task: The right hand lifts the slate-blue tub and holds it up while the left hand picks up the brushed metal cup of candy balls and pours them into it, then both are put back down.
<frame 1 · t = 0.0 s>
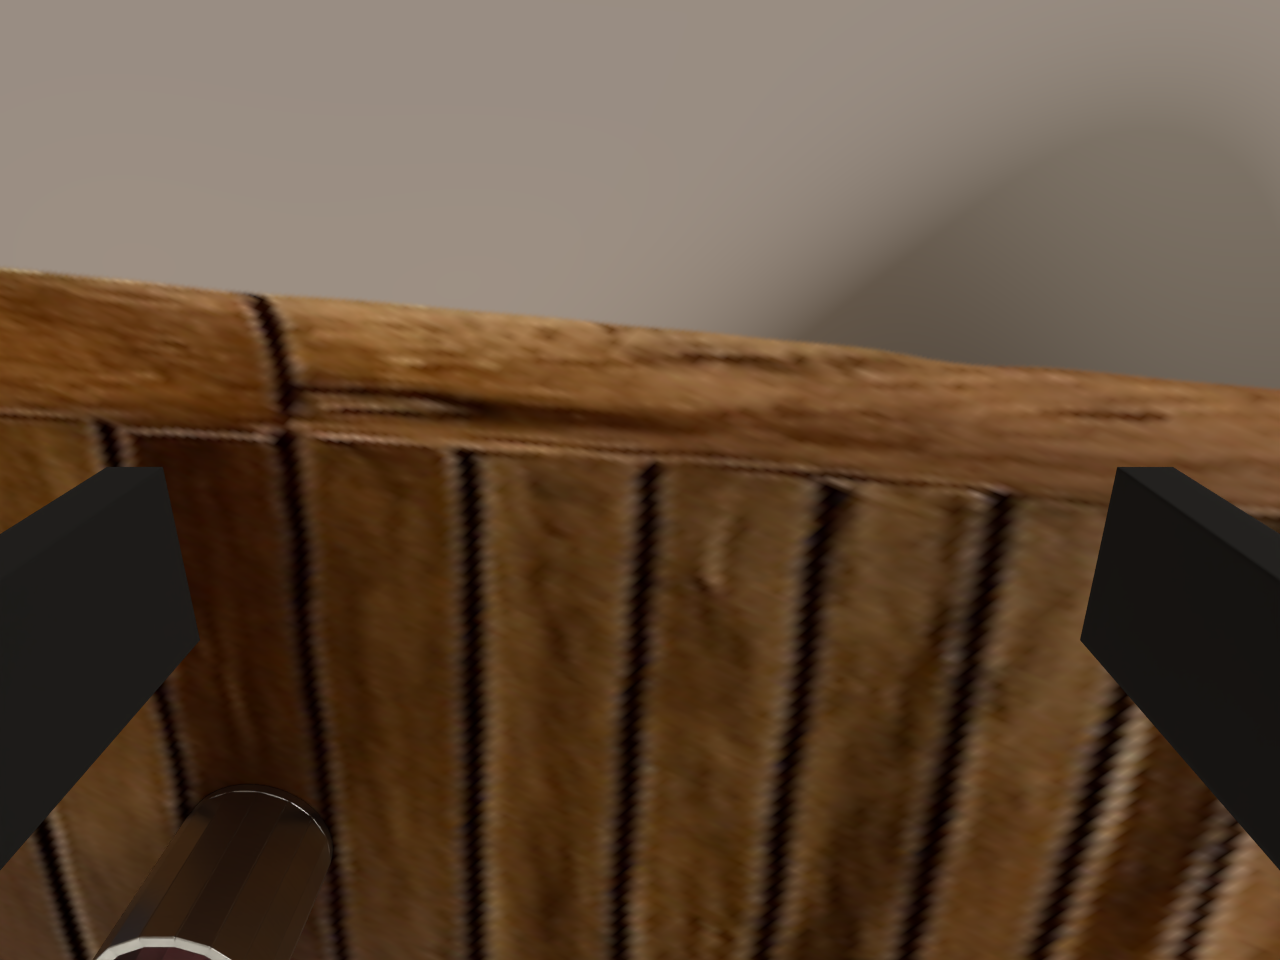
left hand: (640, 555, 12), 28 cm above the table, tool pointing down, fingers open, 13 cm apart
cup: (260, 841, 50), on the table, 125 candy balls inside
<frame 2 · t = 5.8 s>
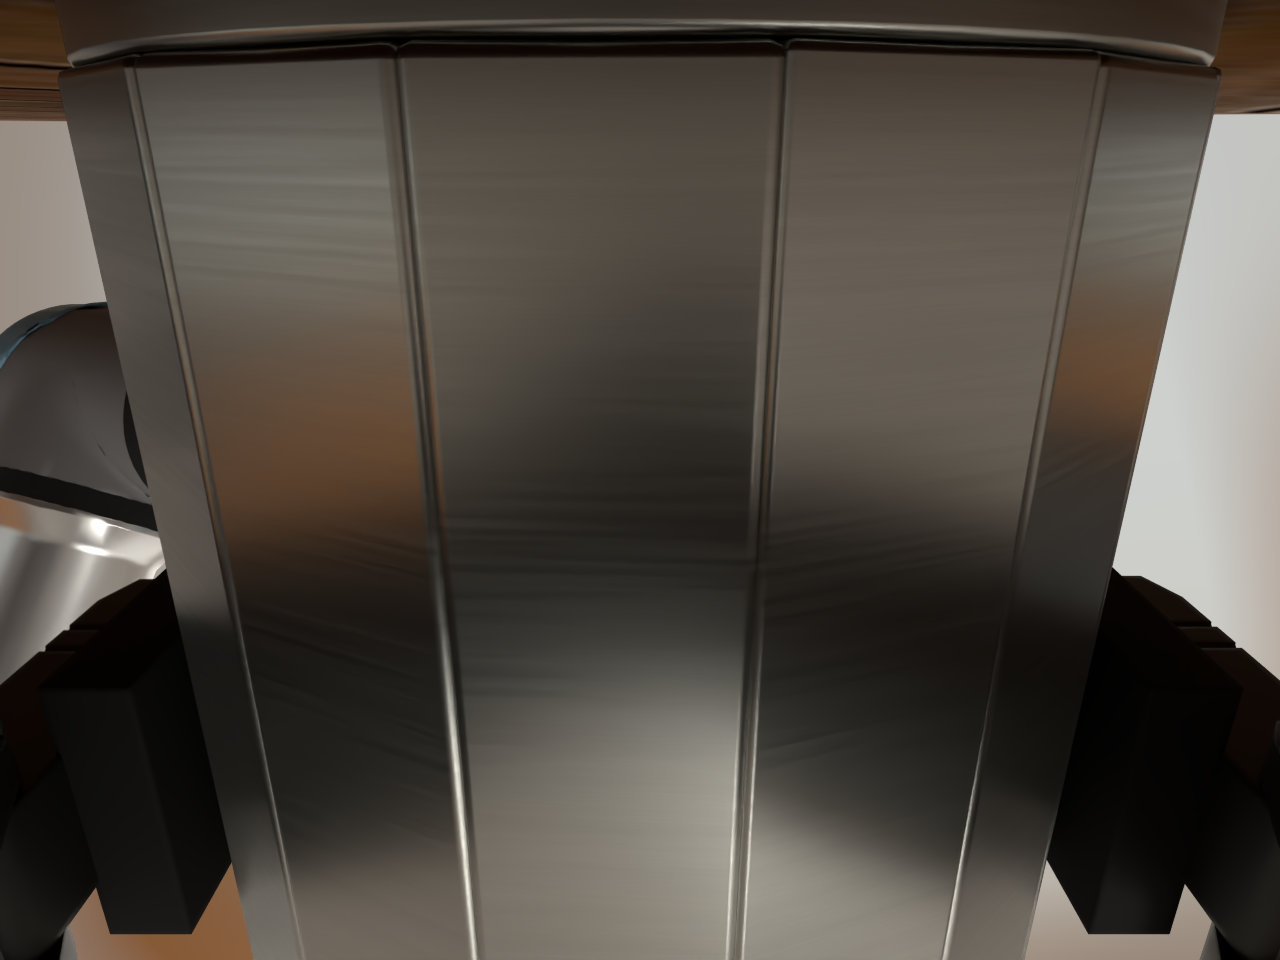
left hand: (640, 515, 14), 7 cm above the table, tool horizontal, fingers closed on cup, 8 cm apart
cup: (640, 5, 7), on the table, 125 candy balls inside, touching left hand
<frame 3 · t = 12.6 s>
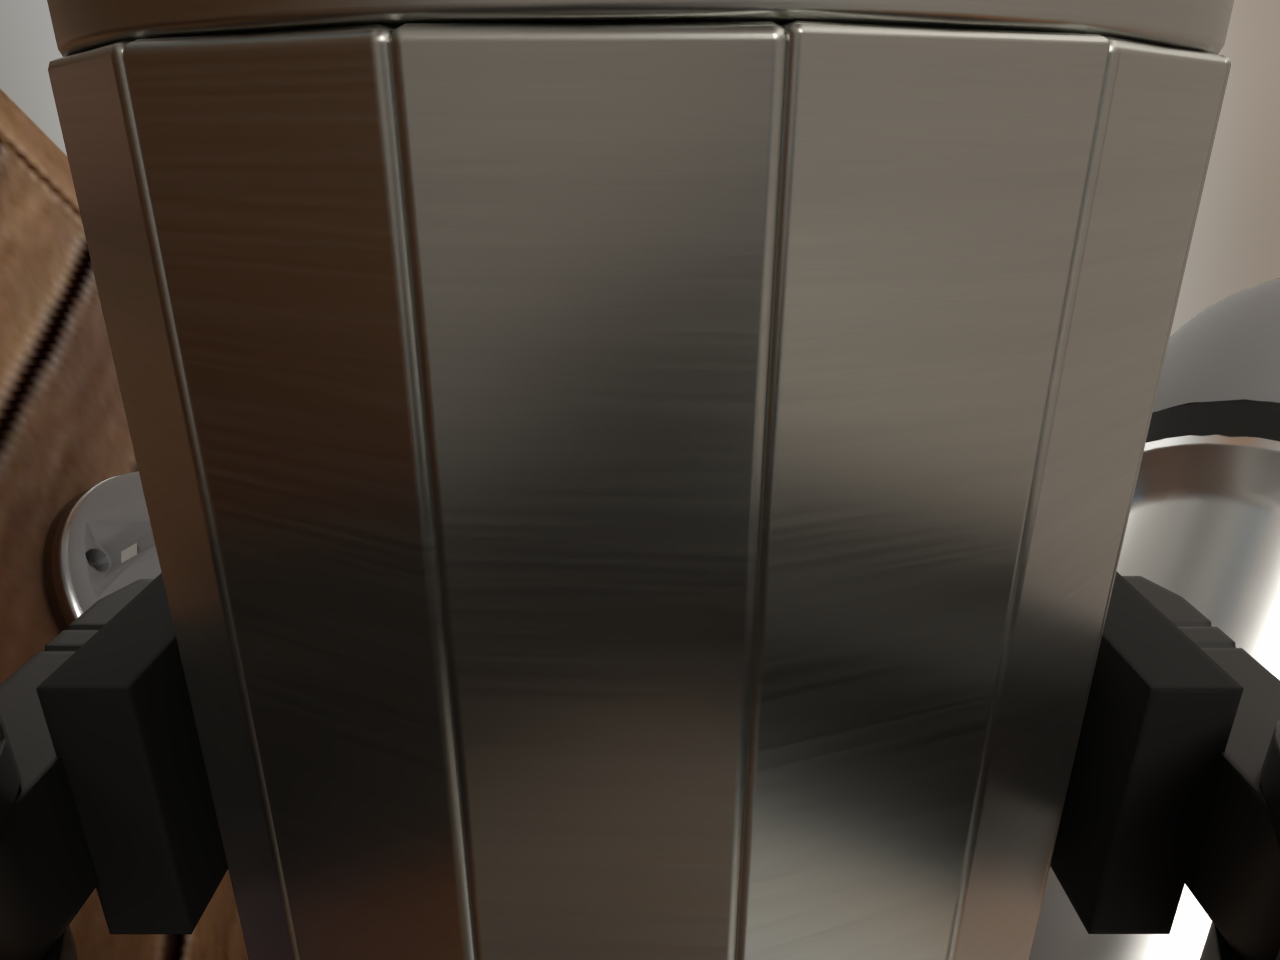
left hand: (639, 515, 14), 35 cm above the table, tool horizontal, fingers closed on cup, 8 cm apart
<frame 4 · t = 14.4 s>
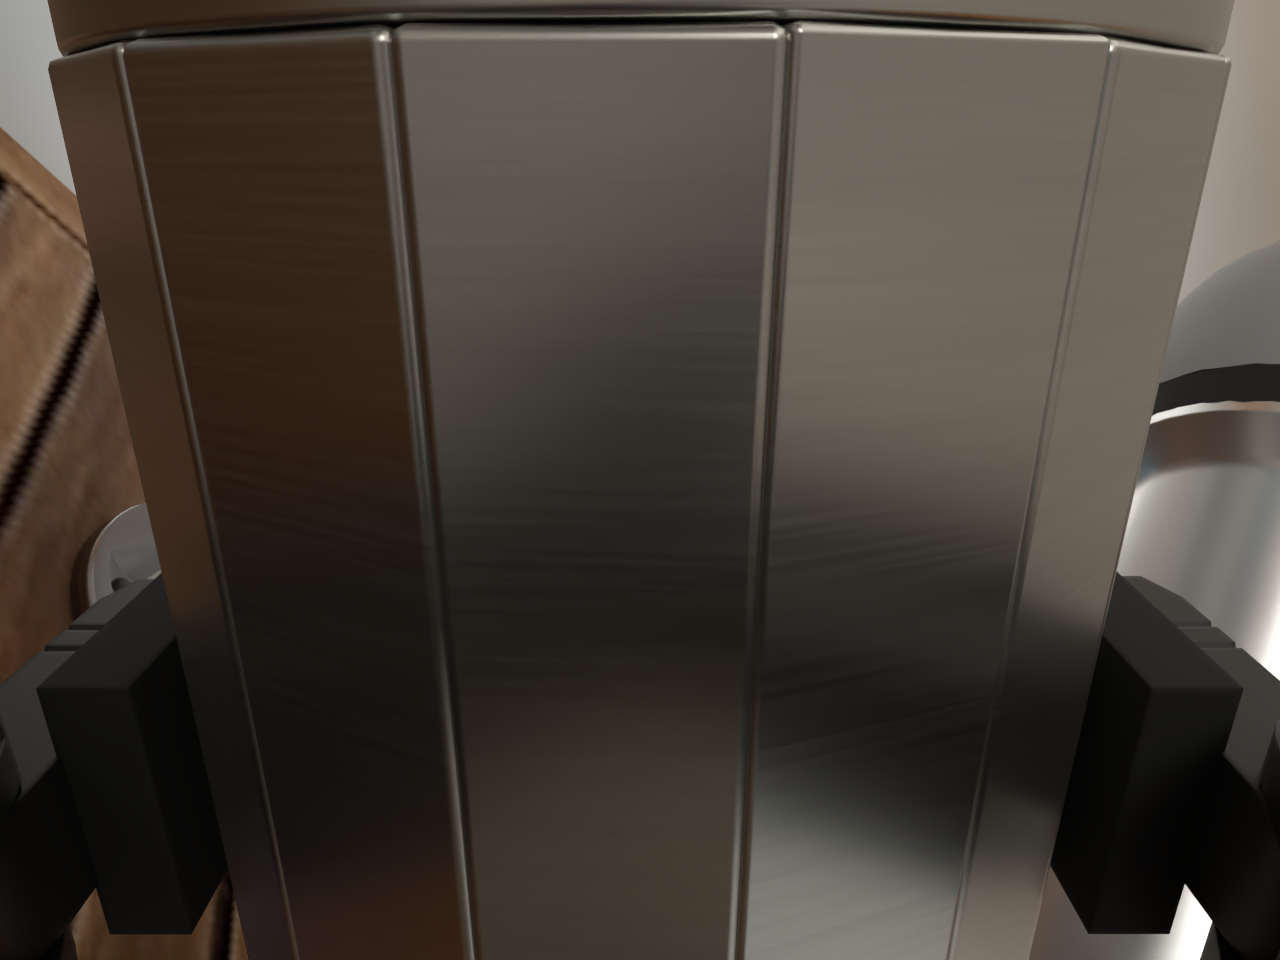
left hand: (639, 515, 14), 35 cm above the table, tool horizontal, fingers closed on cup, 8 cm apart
when the right hand's fingers open (7 cm above the table, at t = 18.8 s): tub stays where it is, on the table.
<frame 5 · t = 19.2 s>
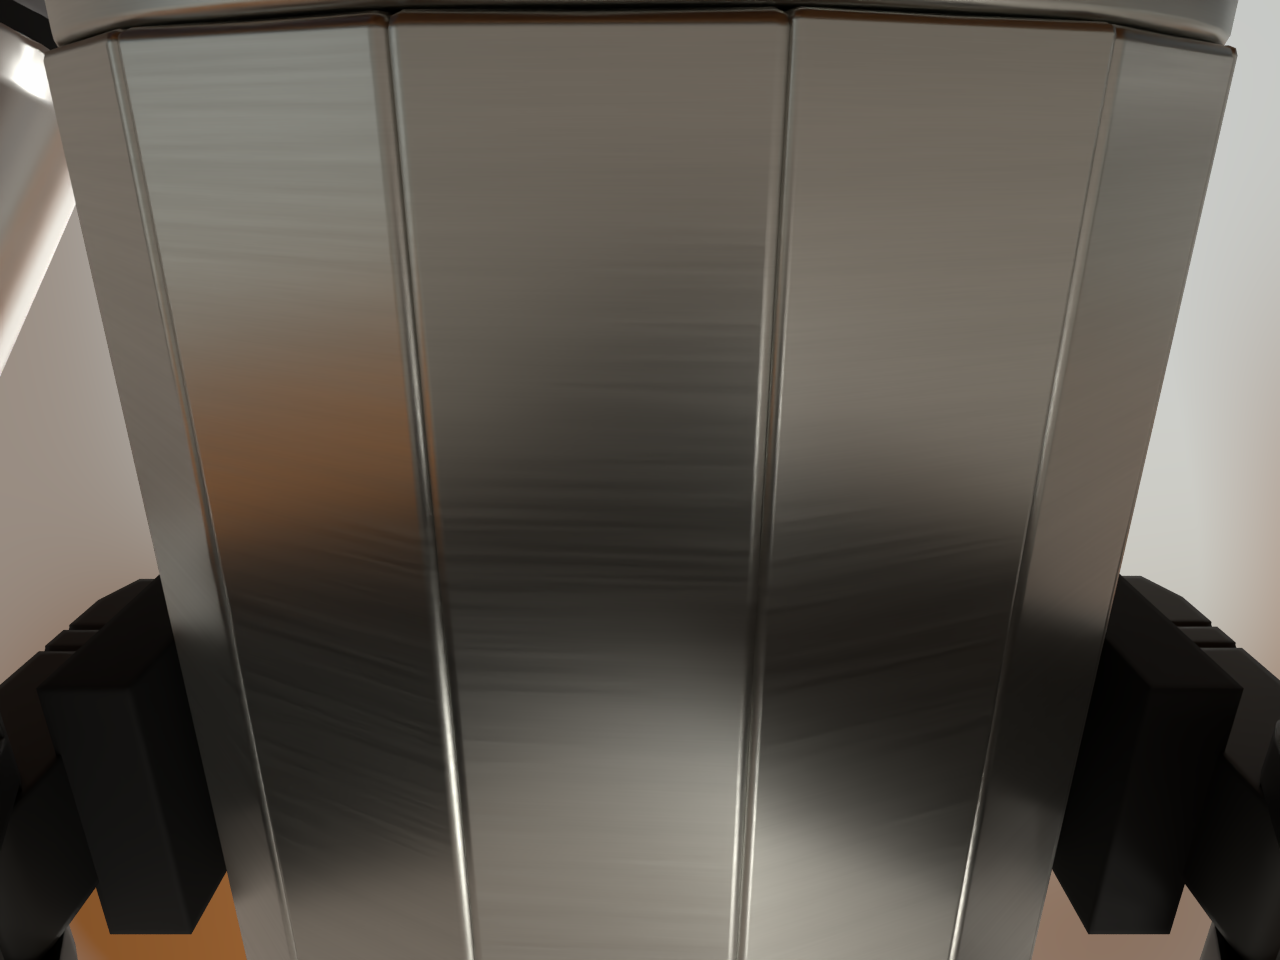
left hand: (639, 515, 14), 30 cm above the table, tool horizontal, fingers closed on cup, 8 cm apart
when the left hand's fingers open (7 cm above the table, at t = 23.1 s): cup stays where it is, on the table.
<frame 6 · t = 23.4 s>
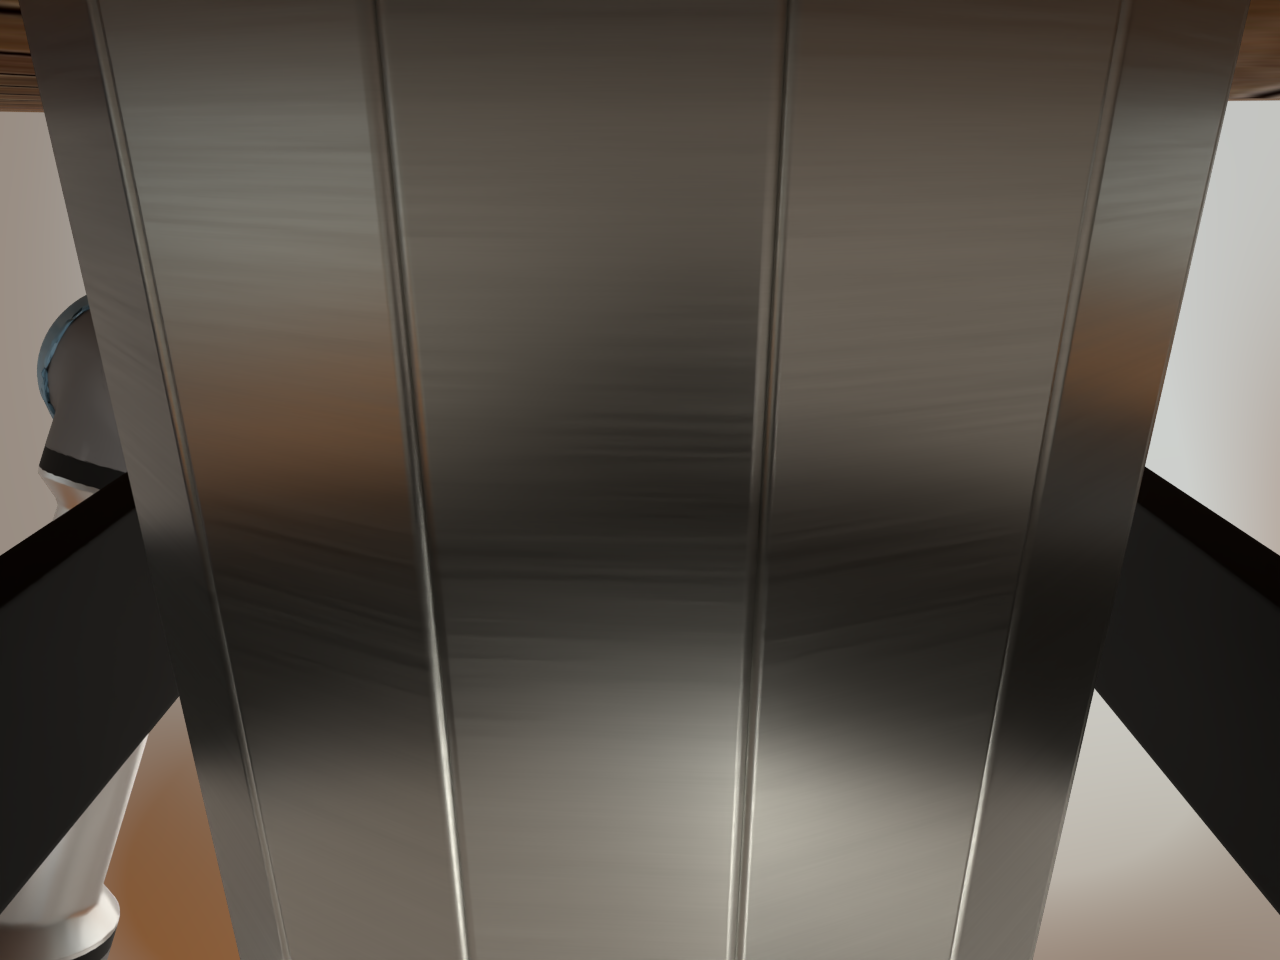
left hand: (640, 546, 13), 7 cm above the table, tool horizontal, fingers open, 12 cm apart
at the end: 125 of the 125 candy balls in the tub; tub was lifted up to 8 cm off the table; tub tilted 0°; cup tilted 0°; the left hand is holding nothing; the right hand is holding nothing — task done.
